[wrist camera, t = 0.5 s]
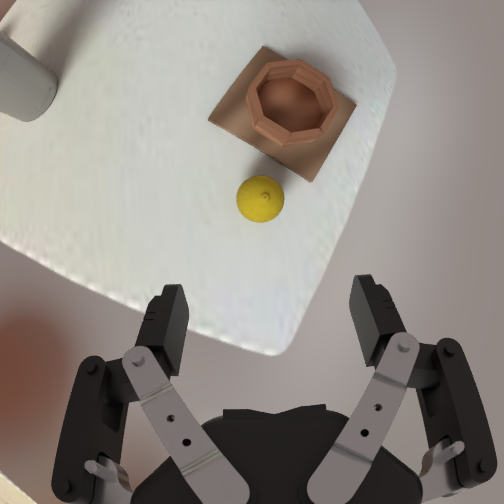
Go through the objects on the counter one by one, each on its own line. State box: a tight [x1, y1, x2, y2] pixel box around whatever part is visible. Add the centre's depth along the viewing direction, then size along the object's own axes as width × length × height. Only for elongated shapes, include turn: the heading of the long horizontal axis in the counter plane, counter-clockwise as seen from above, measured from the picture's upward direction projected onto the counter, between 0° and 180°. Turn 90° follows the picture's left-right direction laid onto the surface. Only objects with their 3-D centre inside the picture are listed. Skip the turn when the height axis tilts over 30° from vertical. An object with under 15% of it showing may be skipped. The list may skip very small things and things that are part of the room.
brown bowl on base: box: [208, 46, 357, 182], centre depth 34 cm, size 16×14×6 cm
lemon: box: [236, 175, 284, 223], centre depth 34 cm, size 6×6×8 cm
